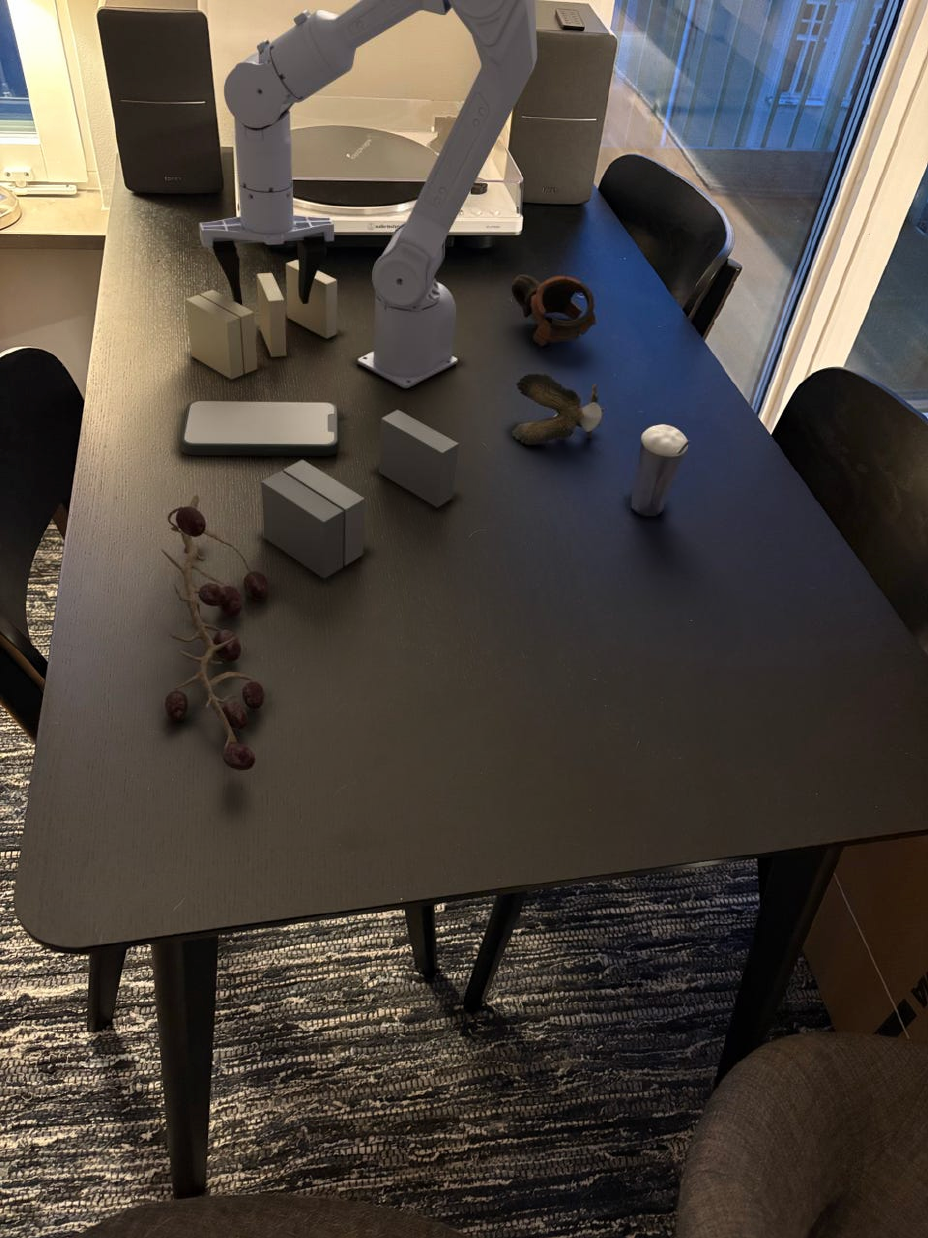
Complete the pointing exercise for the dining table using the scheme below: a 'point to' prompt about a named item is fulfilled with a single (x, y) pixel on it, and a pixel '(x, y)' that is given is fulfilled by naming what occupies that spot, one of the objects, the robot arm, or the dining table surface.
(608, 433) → the dining table surface
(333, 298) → the cream books
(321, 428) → the grey smartphone
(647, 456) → the milkshake
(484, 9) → the robot arm
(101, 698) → the dining table surface
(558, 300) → the rusty ring housing
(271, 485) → the grey books
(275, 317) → the cream square block
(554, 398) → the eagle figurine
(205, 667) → the decorative branch
